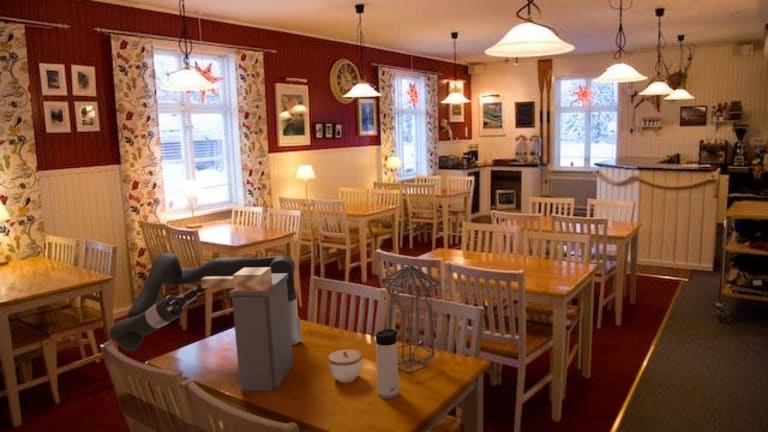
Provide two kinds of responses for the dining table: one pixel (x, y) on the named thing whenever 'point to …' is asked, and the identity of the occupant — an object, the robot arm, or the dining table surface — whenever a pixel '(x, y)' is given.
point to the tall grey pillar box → (263, 335)
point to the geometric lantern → (420, 274)
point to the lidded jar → (345, 364)
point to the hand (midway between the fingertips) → (202, 287)
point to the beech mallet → (241, 280)
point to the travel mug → (387, 363)
